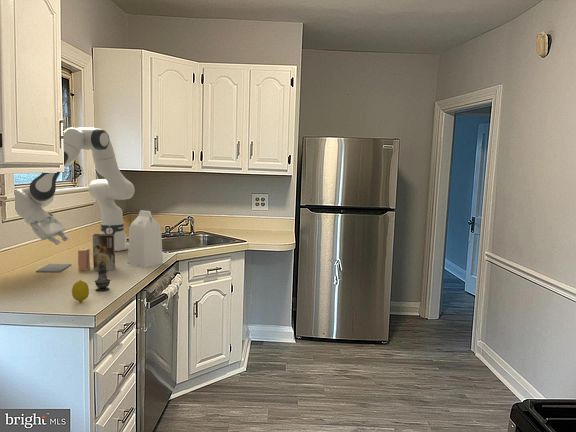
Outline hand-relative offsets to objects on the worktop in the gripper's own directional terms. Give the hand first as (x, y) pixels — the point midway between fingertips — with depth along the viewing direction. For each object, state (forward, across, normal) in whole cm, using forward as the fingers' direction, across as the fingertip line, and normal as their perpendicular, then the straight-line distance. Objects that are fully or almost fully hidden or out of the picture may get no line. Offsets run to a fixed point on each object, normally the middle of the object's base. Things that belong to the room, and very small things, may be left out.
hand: (62, 242), depth 208 cm
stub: (+15, 0, +2) cm, 15 cm away
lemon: (+26, -51, -8) cm, 58 cm away
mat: (+6, 0, +12) cm, 13 cm away
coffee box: (+22, 0, -4) cm, 22 cm away
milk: (+33, +12, -15) cm, 38 cm away
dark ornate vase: (+28, -35, -10) cm, 46 cm away
